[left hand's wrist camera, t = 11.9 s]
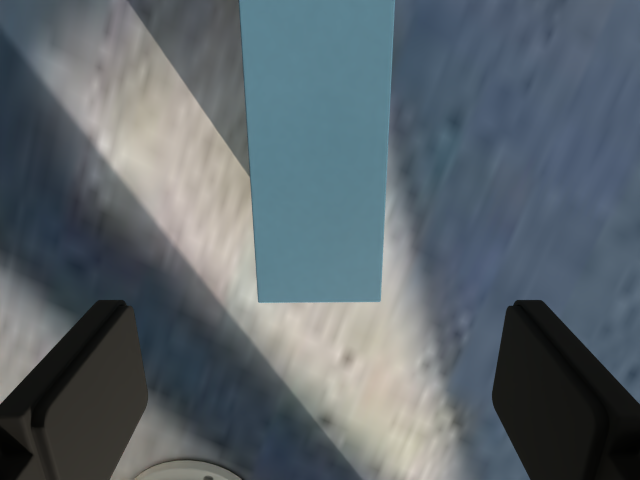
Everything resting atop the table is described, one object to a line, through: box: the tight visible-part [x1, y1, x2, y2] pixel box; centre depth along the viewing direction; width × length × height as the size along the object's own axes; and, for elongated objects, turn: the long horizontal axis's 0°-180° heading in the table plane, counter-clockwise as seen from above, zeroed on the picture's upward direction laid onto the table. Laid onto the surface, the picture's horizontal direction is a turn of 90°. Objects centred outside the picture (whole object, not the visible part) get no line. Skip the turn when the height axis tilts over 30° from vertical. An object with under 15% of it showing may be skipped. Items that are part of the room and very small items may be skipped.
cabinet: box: [239, 0, 395, 303], centre depth 23 cm, size 20×6×12 cm, turn 0°
